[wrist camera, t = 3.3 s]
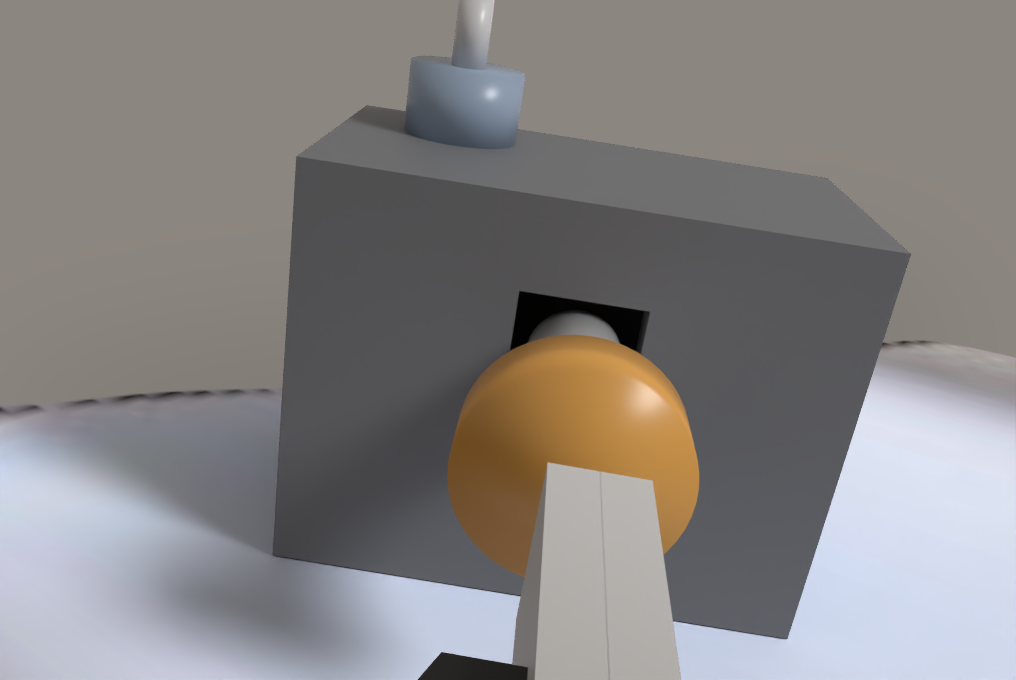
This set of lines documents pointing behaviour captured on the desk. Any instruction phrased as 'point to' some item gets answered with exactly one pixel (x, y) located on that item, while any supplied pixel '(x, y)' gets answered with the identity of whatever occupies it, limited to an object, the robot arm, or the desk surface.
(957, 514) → the desk surface
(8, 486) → the desk surface
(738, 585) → the housing
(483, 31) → the knob
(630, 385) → the knob
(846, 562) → the desk surface
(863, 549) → the desk surface
